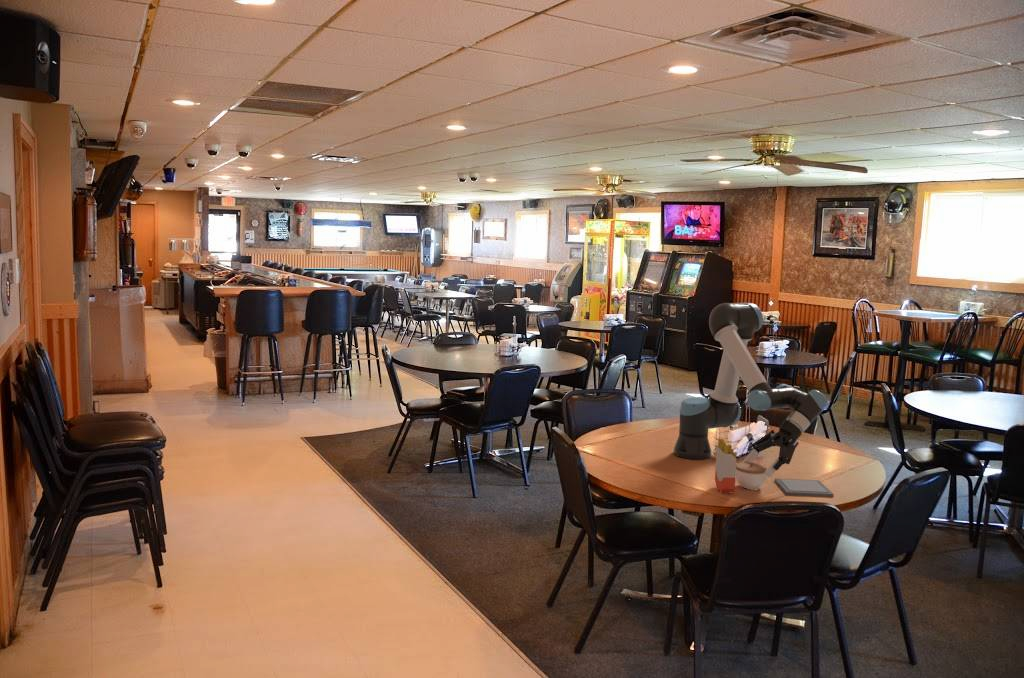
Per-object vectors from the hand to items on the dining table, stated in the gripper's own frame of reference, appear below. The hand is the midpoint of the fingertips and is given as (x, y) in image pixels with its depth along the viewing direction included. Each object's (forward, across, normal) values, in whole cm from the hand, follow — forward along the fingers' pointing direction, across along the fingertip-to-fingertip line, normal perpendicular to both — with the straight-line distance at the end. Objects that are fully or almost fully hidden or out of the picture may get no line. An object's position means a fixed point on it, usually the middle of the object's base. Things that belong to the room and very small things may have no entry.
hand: (755, 469), depth 277 cm
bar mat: (-7, -5, -17) cm, 19 cm away
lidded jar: (+6, +1, -4) cm, 7 cm away
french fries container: (+14, 0, +4) cm, 14 cm away
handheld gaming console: (-29, +60, -39) cm, 78 cm away
